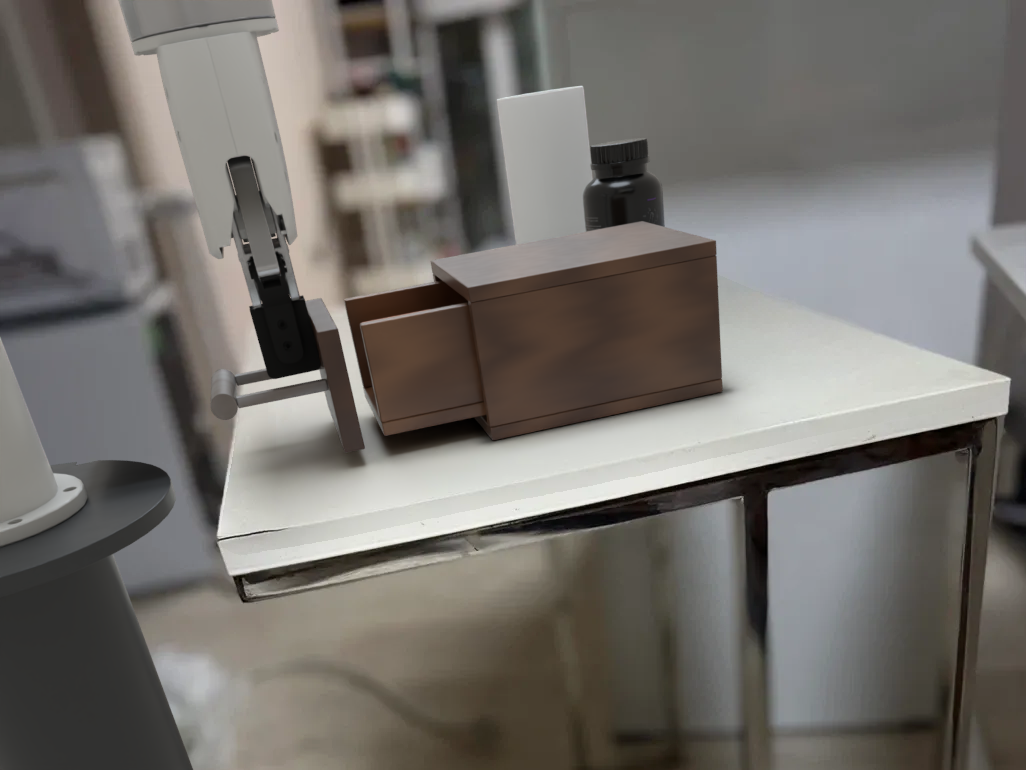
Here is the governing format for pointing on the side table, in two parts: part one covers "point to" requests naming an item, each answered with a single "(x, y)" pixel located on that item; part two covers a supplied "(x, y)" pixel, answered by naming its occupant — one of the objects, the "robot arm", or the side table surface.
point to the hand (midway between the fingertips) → (295, 371)
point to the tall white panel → (546, 161)
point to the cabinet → (590, 324)
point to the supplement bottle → (622, 186)
